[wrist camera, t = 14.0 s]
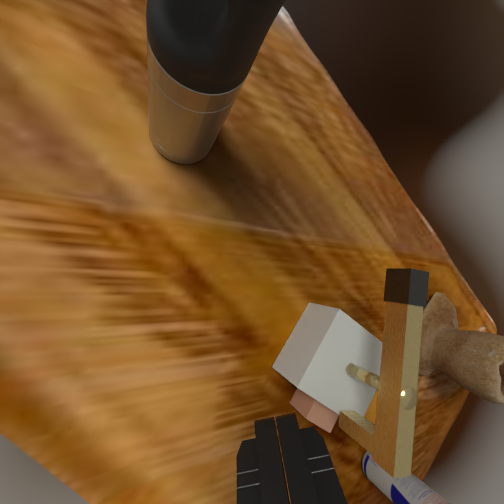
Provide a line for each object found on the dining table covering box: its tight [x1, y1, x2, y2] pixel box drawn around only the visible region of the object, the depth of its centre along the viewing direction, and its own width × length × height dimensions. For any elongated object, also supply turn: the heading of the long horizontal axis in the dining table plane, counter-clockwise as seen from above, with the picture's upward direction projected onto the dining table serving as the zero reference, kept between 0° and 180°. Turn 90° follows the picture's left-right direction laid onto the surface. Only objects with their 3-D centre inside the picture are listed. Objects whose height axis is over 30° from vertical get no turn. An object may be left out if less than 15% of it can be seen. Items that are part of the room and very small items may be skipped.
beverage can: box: [362, 451, 450, 504], centre depth 42 cm, size 5×5×15 cm
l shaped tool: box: [339, 269, 429, 478], centre depth 34 cm, size 22×3×9 cm, turn 171°
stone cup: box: [418, 292, 504, 404], centre depth 48 cm, size 15×12×15 cm
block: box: [290, 388, 339, 433], centre depth 43 cm, size 5×5×3 cm
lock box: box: [272, 302, 382, 417], centre depth 42 cm, size 12×12×8 cm
